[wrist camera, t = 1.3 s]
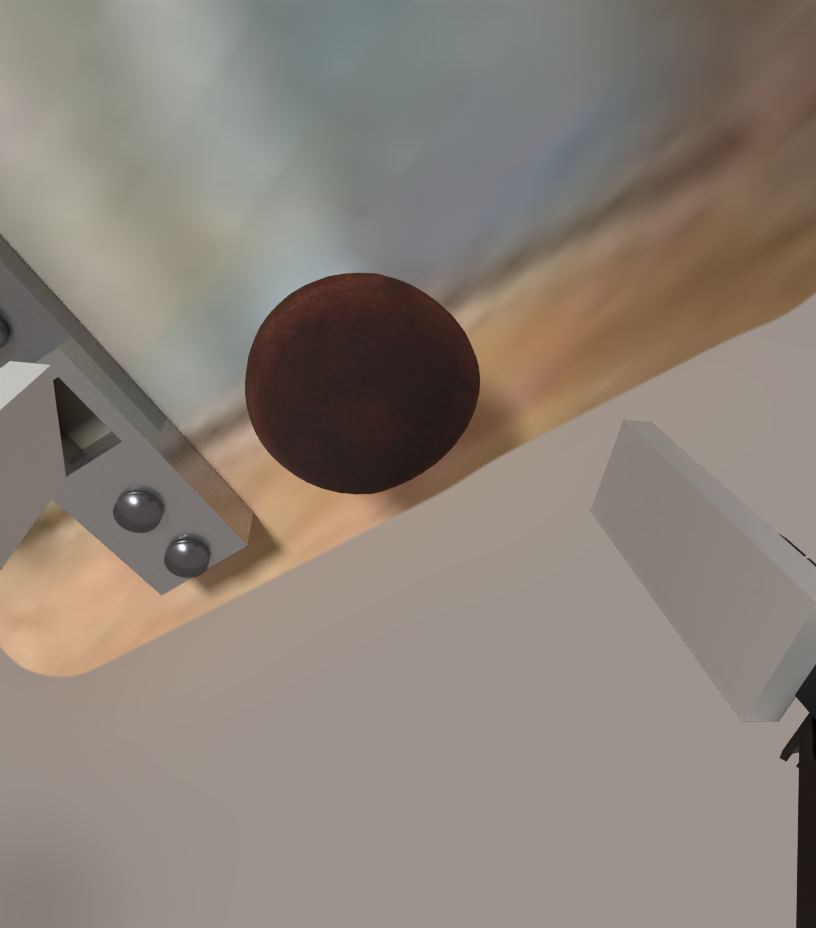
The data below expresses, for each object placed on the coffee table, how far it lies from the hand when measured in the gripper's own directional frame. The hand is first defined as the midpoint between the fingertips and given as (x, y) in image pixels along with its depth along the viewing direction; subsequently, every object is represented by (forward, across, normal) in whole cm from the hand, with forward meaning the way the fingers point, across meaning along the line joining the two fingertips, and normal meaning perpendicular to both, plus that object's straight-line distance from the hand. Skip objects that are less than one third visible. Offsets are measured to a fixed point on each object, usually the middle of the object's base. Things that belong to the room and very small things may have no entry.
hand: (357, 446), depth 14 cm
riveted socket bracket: (+24, -15, -11) cm, 31 cm away
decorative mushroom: (+25, +2, -4) cm, 25 cm away
